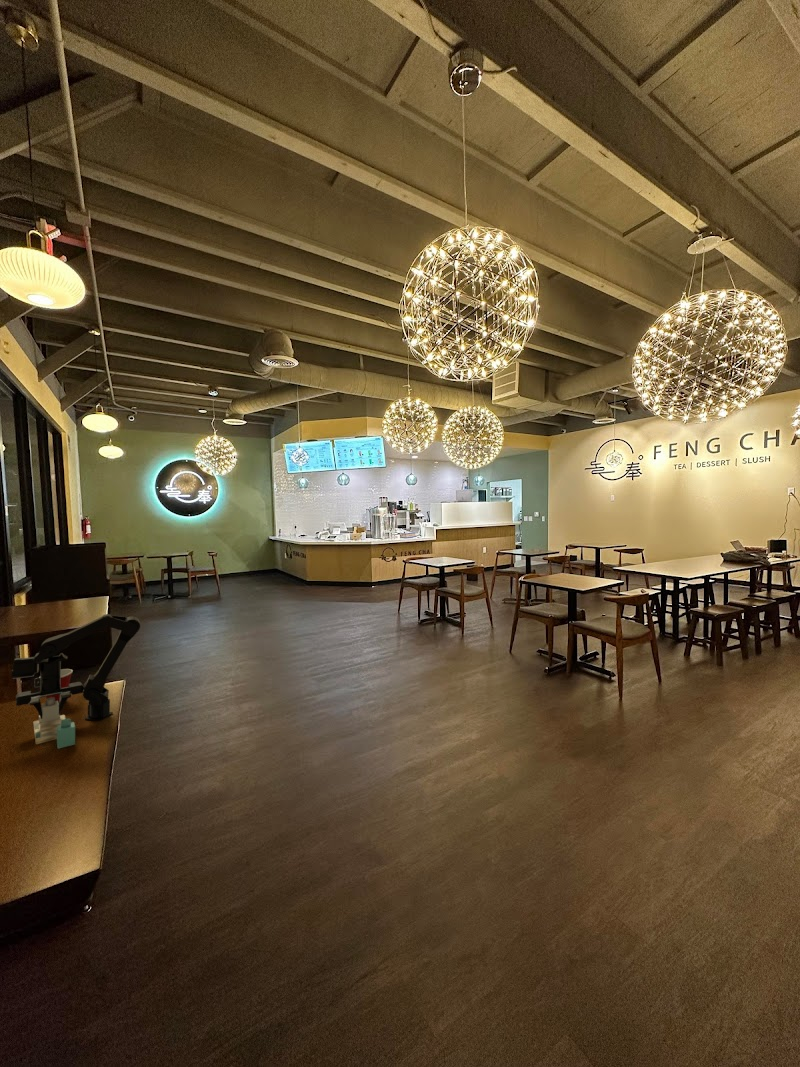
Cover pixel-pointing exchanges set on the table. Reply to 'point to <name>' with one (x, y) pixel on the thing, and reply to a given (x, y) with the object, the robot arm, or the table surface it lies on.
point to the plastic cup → (63, 682)
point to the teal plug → (65, 733)
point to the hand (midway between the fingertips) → (50, 716)
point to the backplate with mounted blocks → (46, 729)
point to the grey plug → (50, 710)
